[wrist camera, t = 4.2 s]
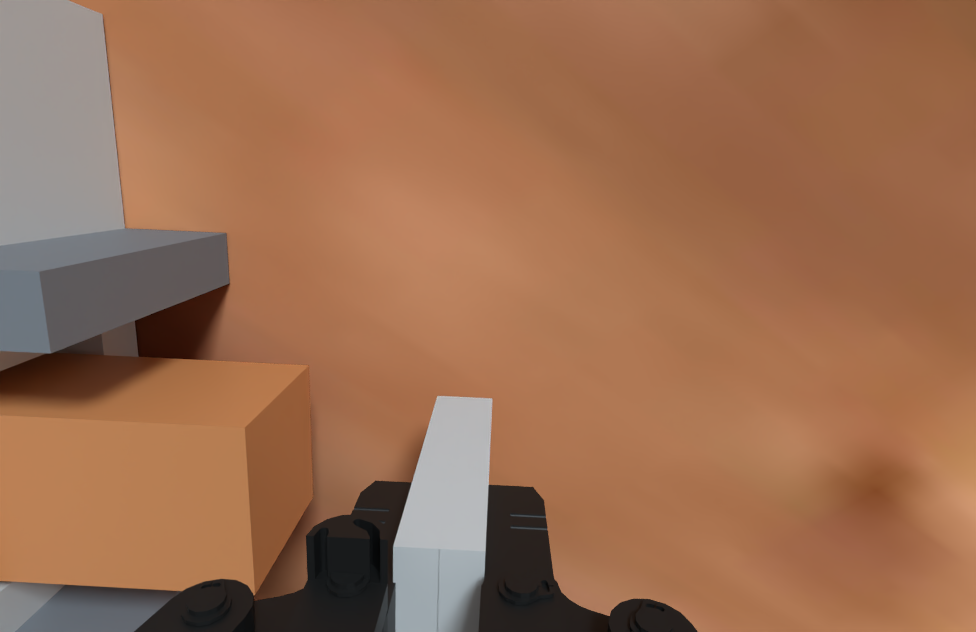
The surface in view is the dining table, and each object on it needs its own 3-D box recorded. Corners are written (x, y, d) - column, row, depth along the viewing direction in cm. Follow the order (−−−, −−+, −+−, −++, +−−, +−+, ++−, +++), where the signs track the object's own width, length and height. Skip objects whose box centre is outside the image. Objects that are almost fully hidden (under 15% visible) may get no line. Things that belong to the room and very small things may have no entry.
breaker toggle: (56, 483, 17) (-79, 576, 13) (36, 351, 16) (-116, 409, 12) (313, 497, 17) (254, 595, 13) (308, 365, 16) (244, 427, 12)
